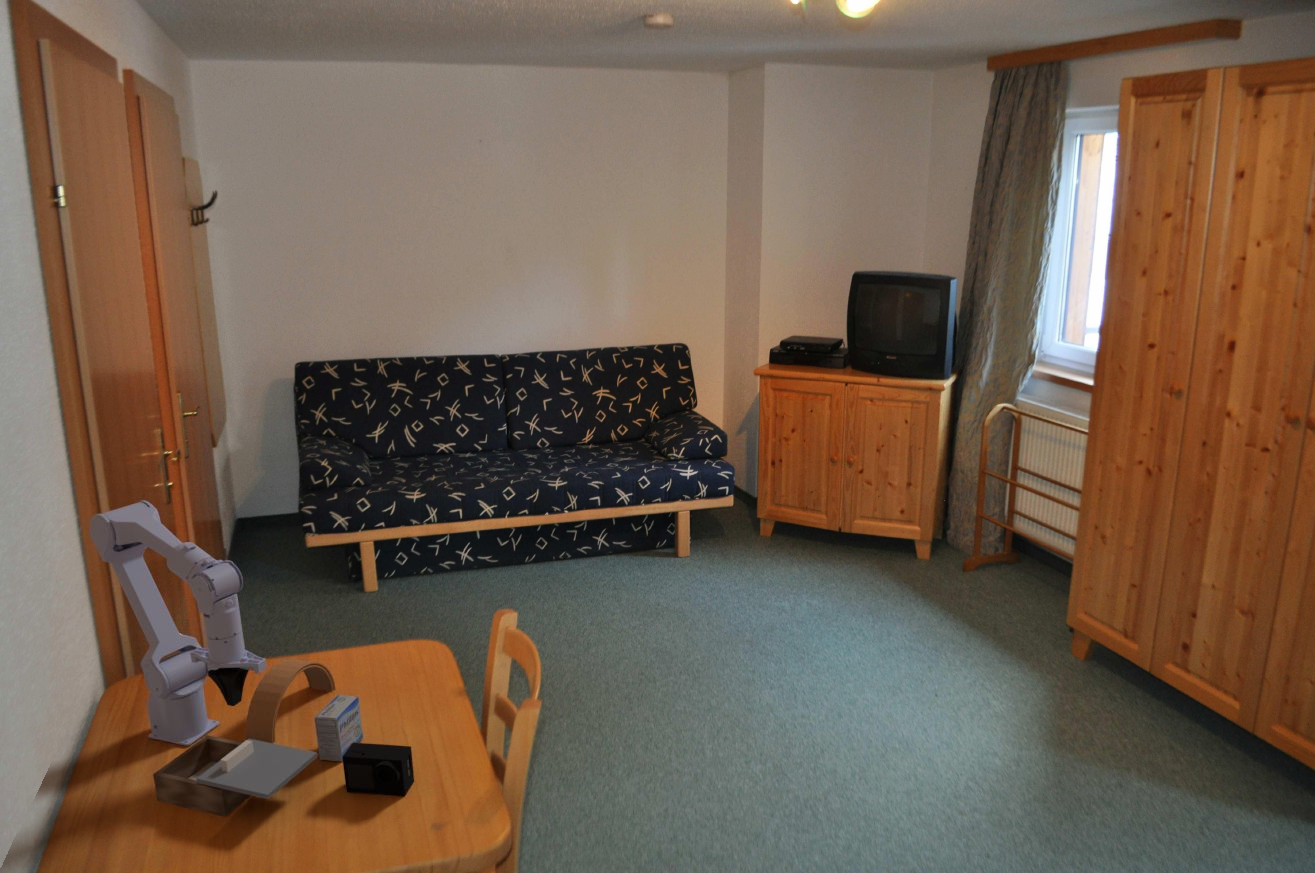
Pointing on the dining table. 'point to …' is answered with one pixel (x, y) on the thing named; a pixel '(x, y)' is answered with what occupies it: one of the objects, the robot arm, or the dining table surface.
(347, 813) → the dining table surface
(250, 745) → the lid
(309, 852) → the dining table surface
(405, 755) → the digital camera
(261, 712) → the arch
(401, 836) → the dining table surface
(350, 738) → the medicine box
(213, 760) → the box
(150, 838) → the dining table surface
